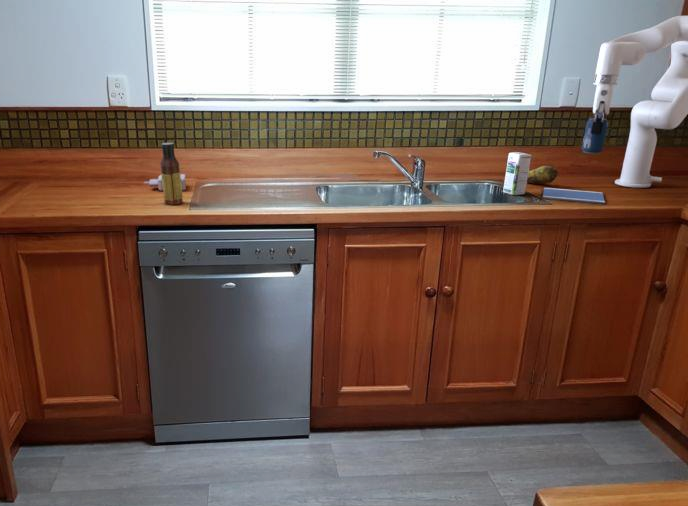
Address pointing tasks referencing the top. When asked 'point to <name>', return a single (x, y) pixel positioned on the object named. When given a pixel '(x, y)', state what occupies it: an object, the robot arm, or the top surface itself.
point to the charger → (159, 182)
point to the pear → (542, 175)
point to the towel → (573, 195)
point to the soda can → (594, 138)
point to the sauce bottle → (171, 176)
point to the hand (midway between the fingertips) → (595, 132)
